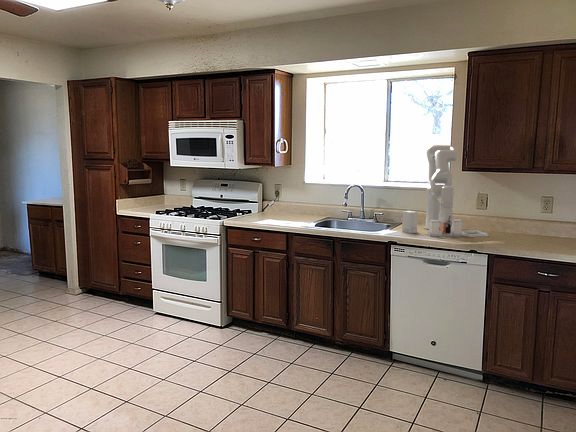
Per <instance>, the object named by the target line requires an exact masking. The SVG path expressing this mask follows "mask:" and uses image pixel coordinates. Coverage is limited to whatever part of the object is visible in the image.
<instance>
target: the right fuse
mask: <svg viewBox="0 0 576 432" xmlns="http://www.w3.org/2000/svg"><path fill="white" fill-rule="evenodd" d="M452 221H453V223H452V225H451V231H453V232H454V233H453V235H454V236H460V235H461V232H462V231H463V229H462V228H463V219H459V218H458V219H452Z"/></svg>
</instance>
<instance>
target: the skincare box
mask: <svg viewBox="0 0 576 432" xmlns="http://www.w3.org/2000/svg"><path fill="white" fill-rule="evenodd" d="M401 223H402V232H404V233H409V234H414V233H415V234H416V233H418V211H414V210H405V211H404V210H403V211H402V222H401Z"/></svg>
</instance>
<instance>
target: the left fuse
mask: <svg viewBox="0 0 576 432" xmlns="http://www.w3.org/2000/svg"><path fill="white" fill-rule="evenodd" d="M428 231H429V232H431V236H439V231H440V230H439V221H438V220H429V229H428Z"/></svg>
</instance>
